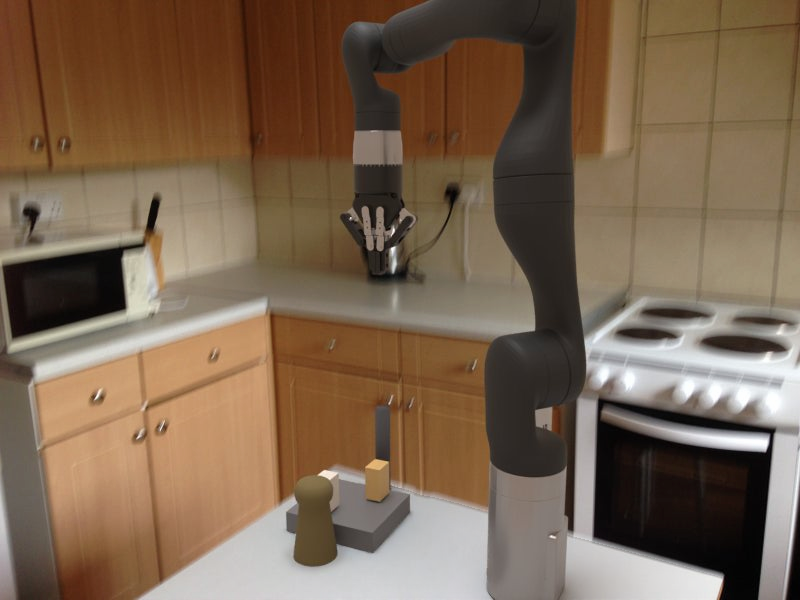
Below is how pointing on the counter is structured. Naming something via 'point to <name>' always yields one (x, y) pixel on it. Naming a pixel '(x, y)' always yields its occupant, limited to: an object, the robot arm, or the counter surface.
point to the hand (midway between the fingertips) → (378, 273)
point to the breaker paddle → (377, 480)
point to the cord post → (382, 435)
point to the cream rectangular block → (335, 483)
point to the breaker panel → (361, 516)
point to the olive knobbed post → (314, 522)
